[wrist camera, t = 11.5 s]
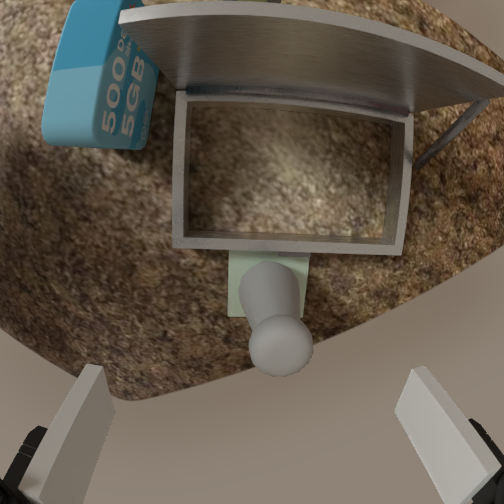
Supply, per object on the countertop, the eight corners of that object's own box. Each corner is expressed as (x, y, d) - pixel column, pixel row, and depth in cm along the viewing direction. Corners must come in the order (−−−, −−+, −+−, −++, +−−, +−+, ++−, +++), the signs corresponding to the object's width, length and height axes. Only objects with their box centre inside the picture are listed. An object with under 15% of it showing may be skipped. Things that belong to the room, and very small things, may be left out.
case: (179, 244, 30) (117, 333, 14) (183, 88, 26) (120, 10, 9) (396, 252, 31) (499, 323, 15) (407, 111, 27) (526, 88, 11)
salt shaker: (247, 247, 30) (253, 307, 18) (302, 262, 31) (341, 327, 18) (231, 300, 31) (228, 382, 19) (284, 313, 32) (308, 395, 20)
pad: (227, 314, 32) (227, 316, 32) (229, 241, 30) (229, 242, 30) (301, 315, 33) (302, 317, 32) (309, 244, 31) (310, 245, 30)
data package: (147, 150, 27) (91, 144, 16) (106, 148, 27) (37, 145, 16) (167, 39, 24) (130, -19, 13) (126, 40, 24) (75, -9, 12)
